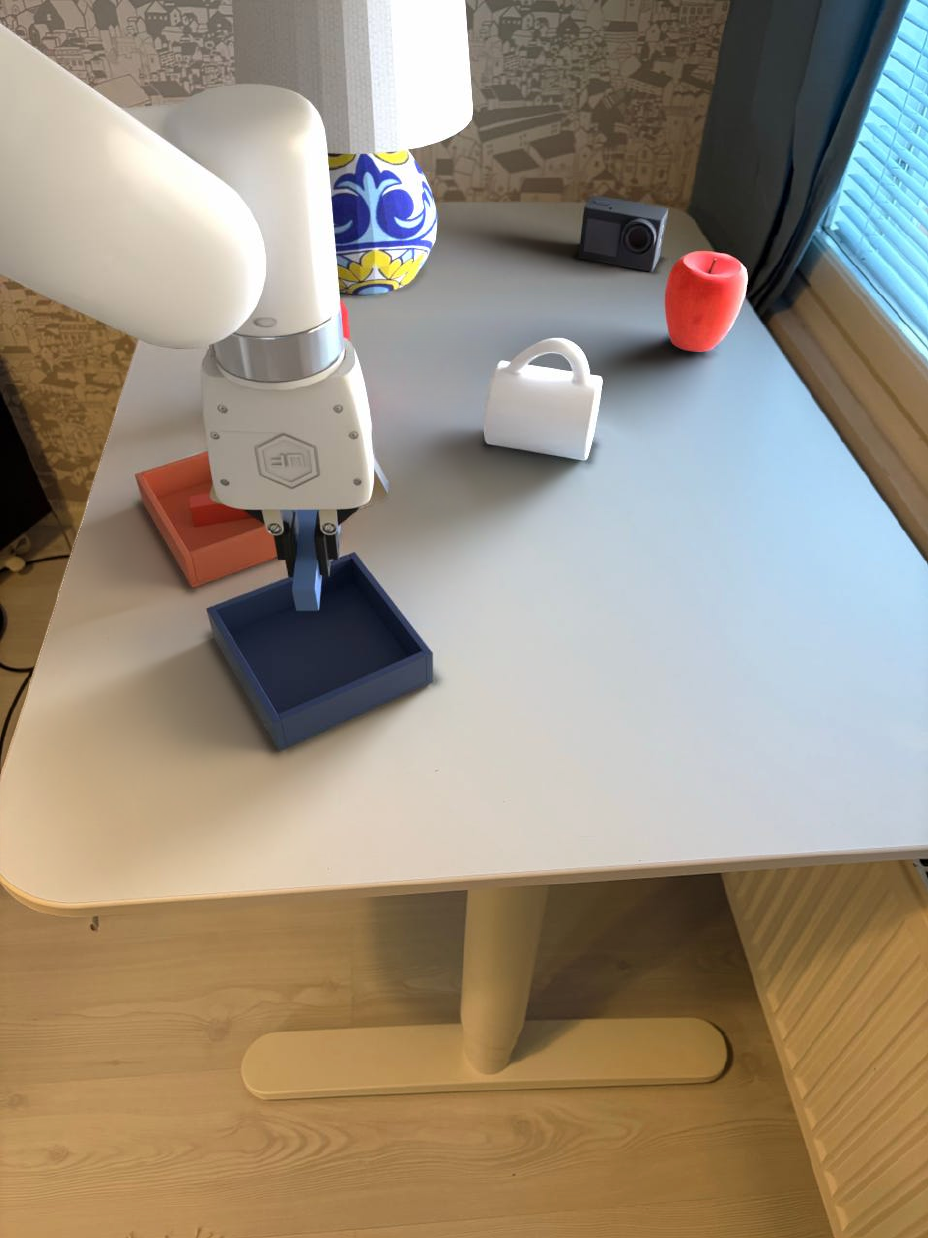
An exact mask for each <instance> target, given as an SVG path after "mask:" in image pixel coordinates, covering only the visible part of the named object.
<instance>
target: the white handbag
mask: <svg viewBox="0 0 928 1238" xmlns="http://www.w3.org/2000/svg"><path fill="white" fill-rule="evenodd" d="M546 354H557V355H561V356H562V357H564V358H565V359H566V360H567V362H568V363H569V364H570V367H571V371H570V370H562V369H557V368H551V367H544V366H537V365H531V364H529V363H531V362H532V361H533V360H535V359H537V358H538V357H540V356H543V355H546ZM602 386H603V378H602V376H600V375H594V374H590V367H589V362H588V360H587V357H586V355H585V353H584V352H583V351H582V349H581V348H580V347H579V346H578V344H576V343H574V342H573V341H571V340H569V339H566V338H562V337H551V338H550V337H549V338H546V339H543V340H540V341H537V342H535V343H534V344H531V345H530V346H528V347H526V348H525V349H524V350H522V351H521V352H520V353H518V354H517V355H516V356H515V357H514V358H513V359H512V360H511V361H506V360H500V361H499V362H498V363H497V364H496V365H495V368H494V370H493V373H492V375H491V379H490V383H489V388H488V393H487V398H486V404H485V410H484V411H485V412H484V420H483V436H484V441H485V443H486V444H487V445H492V446H499V447H503V448H508V449H509V448H510V449H515V450H521V451H527V452H532V453H538V454H544V455H551V456H554V457H555V456H557V457H562V458H567V459H572V460H579V461H586V460H588V457H589V454H590V451H591V447H592V442H593V438H594V434H595V429H596V424H597V419H598V413H599V407H600V401H601V396H602V395H601V394H602Z"/></svg>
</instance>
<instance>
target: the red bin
mask: <svg viewBox="0 0 928 1238" xmlns="http://www.w3.org/2000/svg"><path fill="white" fill-rule="evenodd" d="M134 477H135V480H136V484H137V486H138V490H139V493H140V497H141V500H142V504H143V505H144V507H145V509H146V510H147V512H148V514H149V515H150V517H151V519H152V521H153V522H154V524H155V526H156V528H157V530H158V531H159V533H160V535H161V537H162V538H163V540H164V542H165V544H166V545H167V547H168V548H169V550H170V552H171V554H172V556H173V557H174V559H175V561H176V563H177V564H178V566H179V567H180V569H181V572H183V574H184V576H185V578H186V580H187V581H188V584H189V585H190V587H191V588H192V589H194V588H197V587H199V586H202V585H205V584H207V583H211V582H213V581H216V580H219V579H221V578H224V577H226V576H229V575H231V574H234V573H237V572H241V571H242V570H245V569H248V568H251V567H254V566H256V565H259V564H261V563H265V562H267V561H270V560H272V559H275V558H277V553H276V547H275V541H274V536H273V535H271V534H270V533H268V532H267V530H266V527H265V524H263V523H262V522H260V521H259V520H257V519H256V518H248V519H242V520H236V521H230V522H225V523H219V524H213V525H207V526H201V527H195V526H194V522H193V518H192V514H191V510H190V505H189V497H191V496H197V495H203V494H210V491H211V487H212V483H213V481H212V475H211V470H210V463H209V456H208V450H207V451H204V452H200V453H197V454H194V455H191V456H188V457H184V458H182V459H178V460H174V461H171V462H168V463H166V464H165V463H164V464H162V465H159V466H156V467H153V468H150V469H146V470H142V471H140V472H137V473H135V474H134Z"/></svg>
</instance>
